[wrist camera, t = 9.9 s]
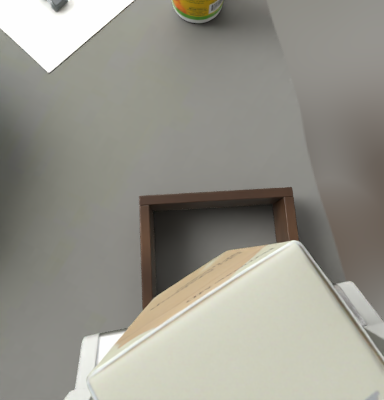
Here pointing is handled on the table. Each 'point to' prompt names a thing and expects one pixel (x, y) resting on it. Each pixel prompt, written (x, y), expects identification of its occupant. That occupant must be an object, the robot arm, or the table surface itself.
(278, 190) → the crate
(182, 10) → the supplement bottle
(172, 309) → the box
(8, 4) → the white card
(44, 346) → the table surface
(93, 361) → the robot arm
